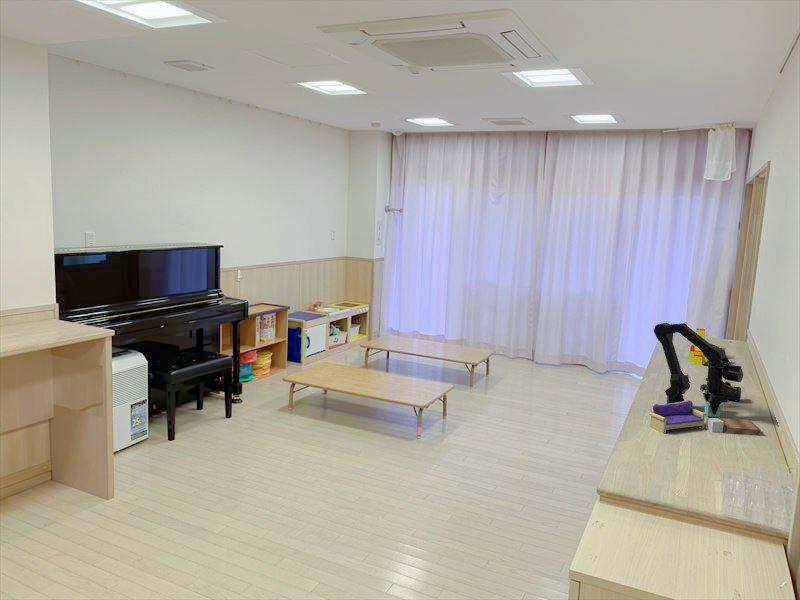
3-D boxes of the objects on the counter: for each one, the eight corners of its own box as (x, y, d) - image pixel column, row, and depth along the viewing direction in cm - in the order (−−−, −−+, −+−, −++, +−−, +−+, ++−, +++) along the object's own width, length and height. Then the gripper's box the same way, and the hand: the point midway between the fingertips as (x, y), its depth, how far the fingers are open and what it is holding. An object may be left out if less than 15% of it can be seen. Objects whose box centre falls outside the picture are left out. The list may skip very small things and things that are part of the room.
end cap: (715, 400, 290) (716, 386, 289) (717, 396, 295) (718, 383, 294) (739, 403, 284) (740, 389, 283) (741, 399, 290) (742, 386, 289)
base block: (727, 434, 245) (727, 427, 245) (718, 424, 257) (718, 417, 256) (759, 436, 243) (760, 429, 242) (749, 426, 254) (749, 419, 254)
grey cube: (712, 432, 246) (712, 421, 246) (705, 428, 251) (706, 418, 250) (722, 432, 247) (723, 421, 246) (716, 428, 251) (717, 418, 251)
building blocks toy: (688, 364, 361) (690, 333, 358) (690, 355, 382) (692, 326, 380) (724, 367, 352) (726, 336, 349) (724, 358, 374) (726, 329, 371)
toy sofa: (662, 434, 245) (664, 409, 243) (648, 427, 253) (649, 403, 251) (705, 429, 250) (707, 405, 249) (689, 422, 259) (691, 399, 257)
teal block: (707, 416, 263) (708, 405, 263) (704, 412, 268) (705, 401, 268) (720, 416, 262) (720, 405, 262) (716, 413, 267) (717, 402, 267)
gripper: (742, 384, 252) (739, 420, 255) (728, 373, 271) (725, 407, 273) (713, 382, 255) (710, 418, 257) (701, 371, 273) (698, 405, 275)
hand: (712, 412), depth 265 cm, fingers closed on teal block, 5 cm apart
